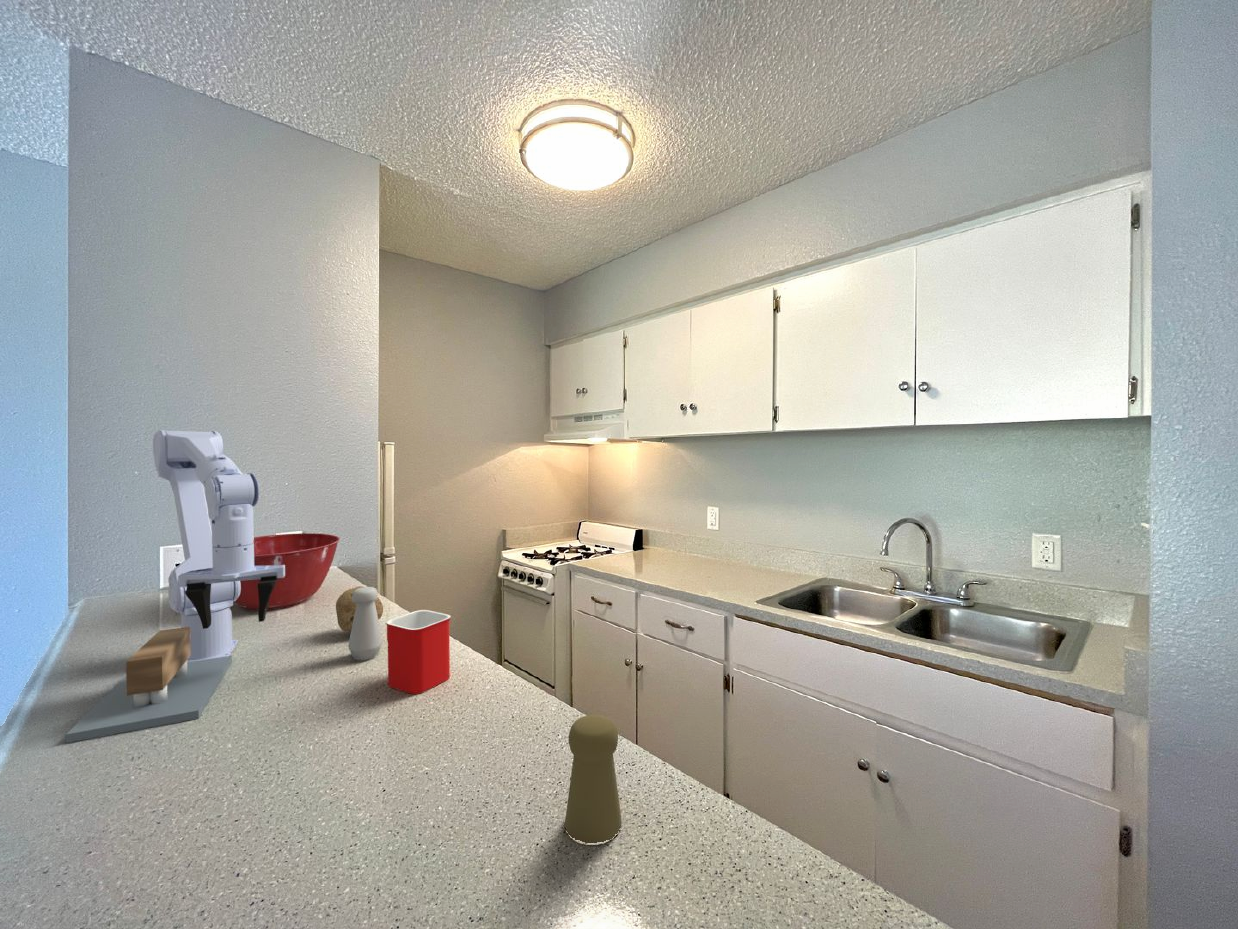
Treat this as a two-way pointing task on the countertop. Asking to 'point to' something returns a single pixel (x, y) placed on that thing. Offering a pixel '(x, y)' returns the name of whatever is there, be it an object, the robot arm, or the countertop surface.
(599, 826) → the olive pawn
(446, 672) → the red rectangular container
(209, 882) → the countertop surface
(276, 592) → the mixing bowl
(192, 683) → the peg rack
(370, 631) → the salt shaker
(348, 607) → the natural sponge
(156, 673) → the wooden block
